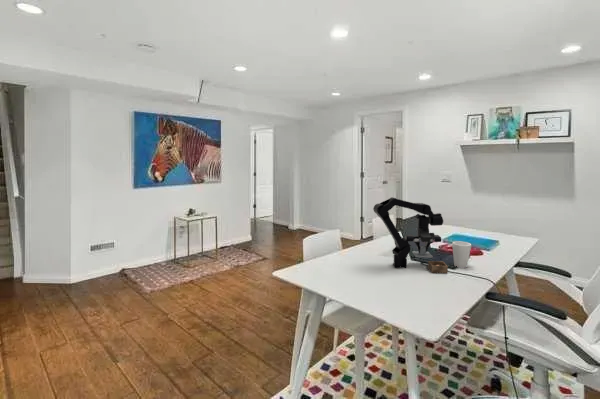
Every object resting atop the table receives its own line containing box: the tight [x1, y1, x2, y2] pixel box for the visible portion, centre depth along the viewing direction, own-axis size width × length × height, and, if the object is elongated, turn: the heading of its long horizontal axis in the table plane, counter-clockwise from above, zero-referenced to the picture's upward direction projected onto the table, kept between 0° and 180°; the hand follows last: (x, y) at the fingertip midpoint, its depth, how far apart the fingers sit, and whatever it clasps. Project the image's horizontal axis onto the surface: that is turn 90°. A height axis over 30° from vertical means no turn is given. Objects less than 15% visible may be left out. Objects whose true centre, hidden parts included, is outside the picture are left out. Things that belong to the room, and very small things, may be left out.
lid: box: [411, 245, 433, 259], centre depth 190 cm, size 9×9×5 cm
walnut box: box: [427, 260, 449, 275], centre depth 181 cm, size 8×8×4 cm
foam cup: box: [451, 240, 472, 269], centre depth 188 cm, size 10×9×13 cm
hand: (422, 252), depth 190 cm, fingers closed on lid, 3 cm apart
